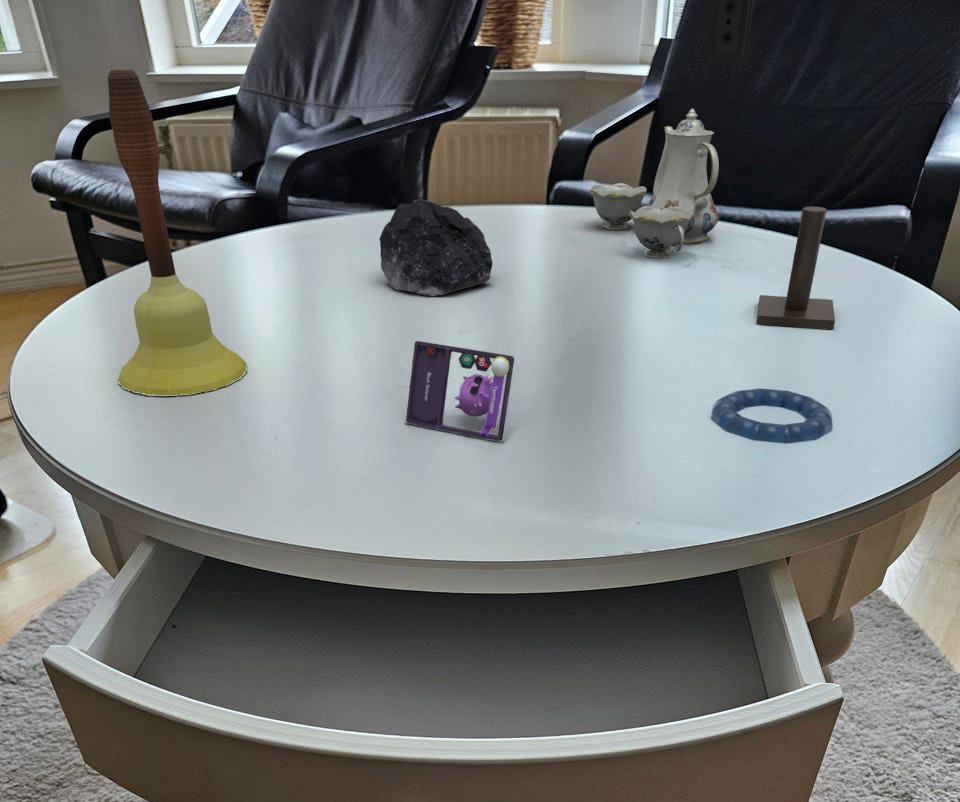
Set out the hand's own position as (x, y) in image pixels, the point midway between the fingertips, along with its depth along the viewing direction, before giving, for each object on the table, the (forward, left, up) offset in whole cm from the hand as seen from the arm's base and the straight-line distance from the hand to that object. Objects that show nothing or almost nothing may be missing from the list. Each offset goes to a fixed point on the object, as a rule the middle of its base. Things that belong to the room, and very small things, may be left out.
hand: (728, 58), depth 62 cm
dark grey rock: (+34, -37, -26) cm, 56 cm away
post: (-9, -33, -26) cm, 43 cm away
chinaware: (+10, -67, -26) cm, 72 cm away
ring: (-7, 0, -25) cm, 26 cm away
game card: (+18, +5, -26) cm, 32 cm away
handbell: (+48, 0, -26) cm, 55 cm away
